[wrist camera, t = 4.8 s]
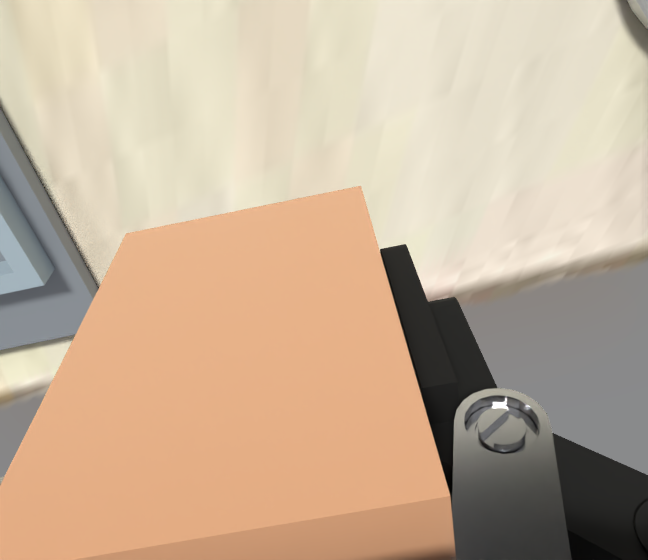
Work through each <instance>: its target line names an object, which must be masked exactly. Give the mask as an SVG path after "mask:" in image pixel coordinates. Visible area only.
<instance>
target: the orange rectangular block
mask: <svg viewBox="0 0 648 560" xmlns="http://www.w3.org/2000/svg"><path fill="white" fill-rule="evenodd" d="M451 557H456V553H455V542H454V531H453V520H452V508H451V497H450V493H449V489H448V486H447V483H446V479H445V476H444V472H443V469H442V465H441V462H440V458H439V455H438V451H437V448H436V444H435V441H434V438H433V434H432V431H431V427H430V424H429V420H428V417H427V413H426V410H425V406H424V403H423V399H422V396H421V393H420V389H419V386H418V382H417V379H416V375H415V372H414V368H413V365H412V361H411V358H410V354H409V351H408V348H407V344H406V341H405V337H404V334H403V330H402V327H401V323H400V320H399V316H398V313H397V310H396V306H395V303H394V299H393V296H392V292H391V289H390V285H389V282H388V278H387V275H386V271H385V268H384V265H383V261H382V258H381V254H380V251H379V247H378V244H377V240H376V237H375V233H374V230H373V226H372V223H371V220H370V216H369V213H368V209H367V206H366V202H365V199H364V195H363V192H362V188H361V186H358V187H353V188H348V189H343V190H338V191H333V192H328V193H323V194H318V195H313V196H309V197H304V198H299V199H294V200H289V201H284V202H279V203H274V204H269V205H264V206H259V207H254V208H250V209H245V210H240V211H235V212H230V213H225V214H220V215H215V216H210V217H205V218H200V219H195V220H191V221H186V222H181V223H176V224H171V225H166V226H161V227H156V228H151V229H146V230H141V231H136V232H132V233H127V234H126V235H125V237H124V239H123V241H122V243H121V245H120V247H119V249H118V251H117V253H116V255H115V257H114V259H113V261H112V263H111V265H110V267H109V269H108V271H107V273H106V275H105V277H104V279H103V281H102V283H101V285H100V287H99V289H98V291H97V293H96V295H95V297H94V299H93V301H92V303H91V305H90V307H89V309H88V311H87V313H86V315H85V317H84V319H83V321H82V323H81V325H80V327H79V329H78V331H77V333H76V335H75V337H74V339H73V341H72V343H71V345H70V347H69V349H68V351H67V353H66V355H65V357H64V359H63V361H62V363H61V365H60V367H59V369H58V371H57V373H56V375H55V377H54V379H53V381H52V383H51V385H50V387H49V389H48V391H47V393H46V395H45V397H44V399H43V401H42V403H41V405H40V407H39V409H38V411H37V413H36V415H35V417H34V419H33V421H32V423H31V425H30V427H29V429H28V431H27V433H26V435H25V437H24V439H23V441H22V443H21V445H20V447H19V449H18V451H17V453H16V455H15V457H14V459H13V461H12V463H11V465H10V467H9V469H8V471H7V473H6V475H5V477H4V479H3V481H2V483H1V485H0V560H451Z"/></svg>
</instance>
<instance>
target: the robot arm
mask: <svg viewBox="0 0 648 560" xmlns="http://www.w3.org/2000/svg"><path fill="white" fill-rule="evenodd" d="M627 1H628V3H629V5H630V8H631V10H632V11H633V12H634V14H635V15H636V16H637V17H638V19H639V20H640V21H641V22H642V24H643V25H644V26H645V27H646V29H648V0H627ZM380 253H381V258H382V261H383V265H384V268H385V271H386V275H387V278H388V282H389V285H390V289H391V292H392V296H393V299H394V303H395V306H396V310H397V313H398V316H399V320H400V323H401V327H402V330H403V334H404V337H405V341H406V344H407V348H408V351H409V354H410V358H411V361H412V365H413V368H414V372H415V375H416V379H417V382H418V386H419V389H420V393H421V396H422V399H423V403H424V406H425V410H426V413H427V417H428V420H429V424H430V427H431V431H432V434H433V438H434V441H435V444H436V448H437V451H438V455H439V458H440V462H441V465H442V469H443V472H444V476H445V479H446V483H447V486H448V489H449V493H450V497H451V508H452V520H453V531H454V542H455V553H456V557H451V560H648V475H646V474H644V473H641V472H639V471H637V470H635V469H632V468H630V467H628V466H626V465H623V464H621V463H619V462H617V461H614V460H612V459H610V458H608V457H605V456H603V455H601V454H599V453H596V452H594V451H592V450H589V449H587V448H585V447H583V446H581V445H578V444H576V443H574V442H572V441H569V440H567V439H565V438H562V437H560V436H558V435H556V434H554V433H552V428H551V424H550V422H549V418H548V415H547V413H546V412H545V411H544V410H543V408H542V407H541V406H540V405H539V403H537V402H536V401H534V400H533V399H531V398H530V397H529V396H527V395H525V394H522V393H519V392H517V391H514V390H509V389H502V388H497V386H496V384H495V382H494V379H493V377H492V375H491V373H490V371H489V369H488V366H487V364H486V362H485V360H484V357H483V355H482V353H481V351H480V349H479V347H478V344H477V342H476V340H475V338H474V336H473V334H472V331H471V329H470V327H469V325H468V322H467V320H466V318H465V316H464V314H463V311H462V309H461V307H460V305H459V303H458V301H457V299H456V298H455V297H451V298H446V299H441V300H436V301H430V302H428V301H427V299H426V296H425V293H424V291H423V288H422V285H421V283H420V280H419V277H418V275H417V272H416V269H415V267H414V264H413V261H412V259H411V256H410V253H409V251H408V248H407V246H406V244H404V245H399V246H394V247H389V248H384V249H380ZM4 477H5V476H3V477H0V485H1V483H2V481H3V479H4Z"/></svg>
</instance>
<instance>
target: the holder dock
mask: <svg viewBox="0 0 648 560" xmlns="http://www.w3.org/2000/svg"><path fill="white" fill-rule="evenodd" d="M97 291H98V287H97V285H96V283H95V282H94V280H93V278H92V276H91V274H90V272H89V270H88V269H87V267H86V265H85V263H84V261H83V259H82V258H81V256H80V254H79V252H78V250H77V248H76V246H75V245H74V243H73V241H72V239H71V237H70V235H69V234H68V232H67V230H66V228H65V226H64V224H63V222H62V221H61V219H60V217H59V215H58V213H57V211H56V210H55V208H54V206H53V204H52V202H51V200H50V198H49V197H48V195H47V193H46V191H45V189H44V187H43V185H42V184H41V182H40V180H39V178H38V176H37V174H36V173H35V171H34V169H33V167H32V165H31V163H30V161H29V160H28V158H27V156H26V154H25V152H24V150H23V149H22V147H21V145H20V143H19V141H18V139H17V137H16V136H15V134H14V132H13V130H12V128H11V126H10V125H9V123H8V121H7V119H6V117H5V115H4V113H3V112H2V110H1V108H0V350H3V349H7V348H12V347H17V346H22V345H27V344H32V343H37V342H41V341H46V340H51V339H56V338H61V337H66V336H70V335H75V334H76V333H77V331H78V329H79V327H80V325H81V323H82V321H83V319H84V317H85V315H86V313H87V311H88V309H89V307H90V305H91V303H92V301H93V299H94V297H95V295H96V293H97Z"/></svg>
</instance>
